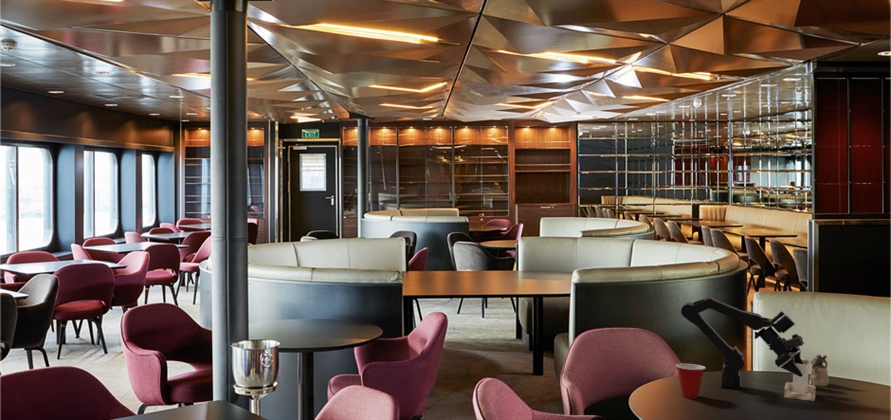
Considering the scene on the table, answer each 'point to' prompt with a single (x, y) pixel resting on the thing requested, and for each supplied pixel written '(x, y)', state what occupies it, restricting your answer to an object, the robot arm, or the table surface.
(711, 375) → the table surface
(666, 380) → the table surface
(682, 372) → the plastic cup
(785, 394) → the cradle
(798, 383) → the block
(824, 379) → the figurine
